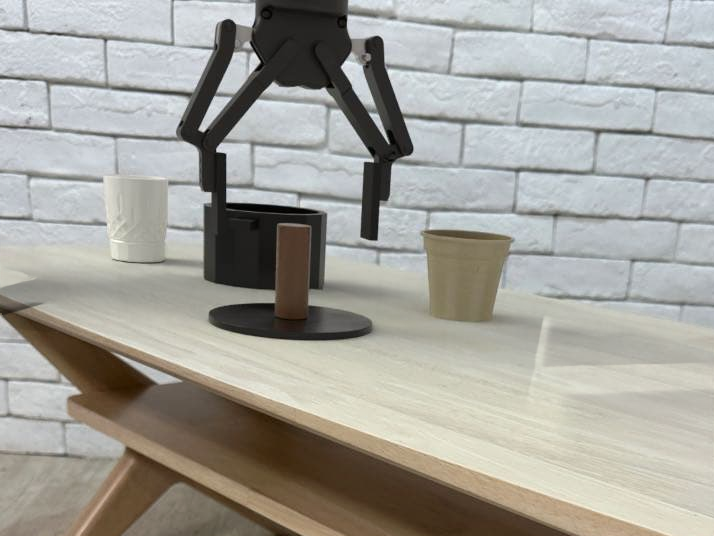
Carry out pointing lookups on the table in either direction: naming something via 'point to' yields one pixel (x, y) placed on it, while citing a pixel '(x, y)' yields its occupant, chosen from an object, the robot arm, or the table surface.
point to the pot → (258, 244)
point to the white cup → (136, 216)
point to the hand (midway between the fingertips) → (295, 237)
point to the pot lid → (291, 300)
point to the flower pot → (464, 272)
